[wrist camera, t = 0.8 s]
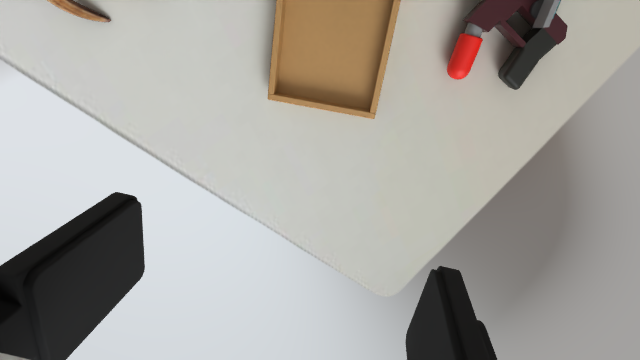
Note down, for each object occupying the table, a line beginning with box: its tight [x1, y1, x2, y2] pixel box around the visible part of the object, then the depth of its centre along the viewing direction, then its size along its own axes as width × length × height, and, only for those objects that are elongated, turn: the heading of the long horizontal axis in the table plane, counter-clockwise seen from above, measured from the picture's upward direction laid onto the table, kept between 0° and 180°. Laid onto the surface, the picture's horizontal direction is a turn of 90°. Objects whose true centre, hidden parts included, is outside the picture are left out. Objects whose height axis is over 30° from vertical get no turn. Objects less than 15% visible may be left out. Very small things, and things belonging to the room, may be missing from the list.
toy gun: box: [447, 0, 567, 90], centre depth 31 cm, size 10×12×5 cm
